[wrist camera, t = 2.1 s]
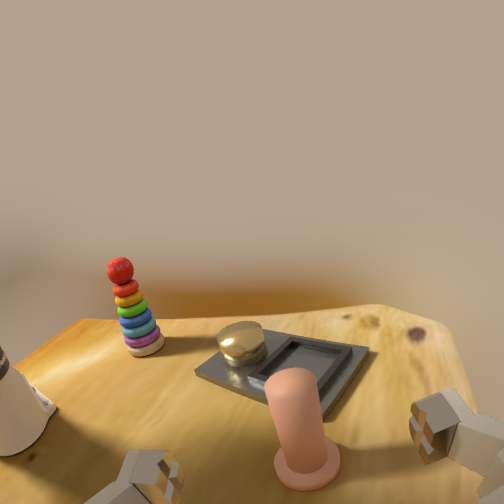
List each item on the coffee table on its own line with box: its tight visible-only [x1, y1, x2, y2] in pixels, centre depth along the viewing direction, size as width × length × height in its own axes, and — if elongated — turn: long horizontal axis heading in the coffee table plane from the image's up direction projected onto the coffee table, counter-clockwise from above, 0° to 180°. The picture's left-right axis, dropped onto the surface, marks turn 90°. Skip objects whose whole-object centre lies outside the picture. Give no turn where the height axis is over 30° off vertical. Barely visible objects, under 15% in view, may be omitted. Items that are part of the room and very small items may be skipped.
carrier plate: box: [194, 321, 370, 421], centre depth 42 cm, size 22×14×5 cm, turn 50°
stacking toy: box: [107, 257, 164, 356], centre depth 55 cm, size 8×8×19 cm
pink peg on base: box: [264, 368, 340, 491], centre depth 24 cm, size 6×6×12 cm
